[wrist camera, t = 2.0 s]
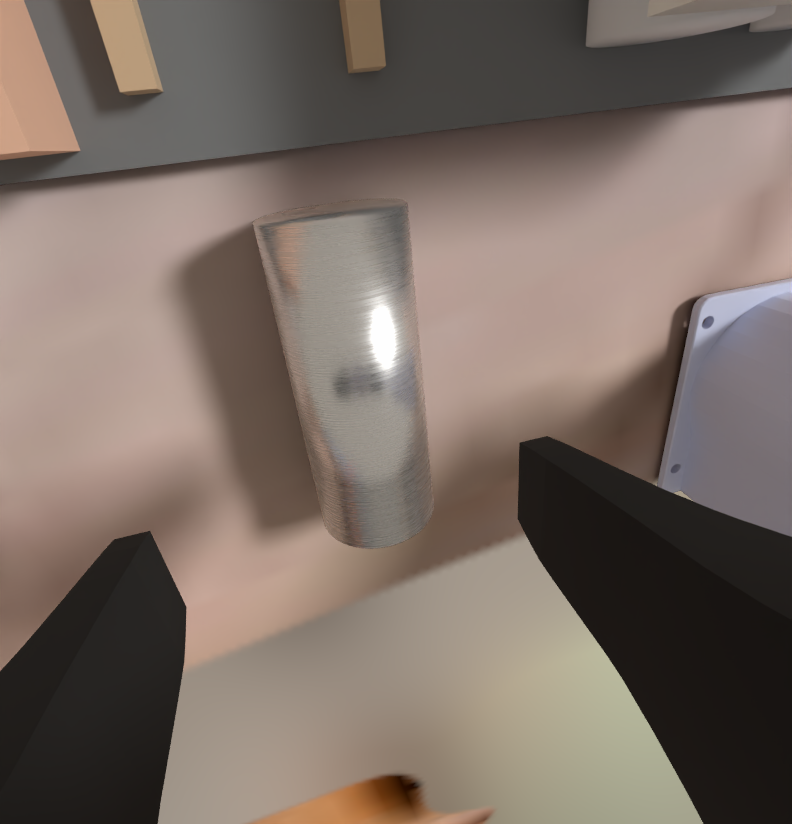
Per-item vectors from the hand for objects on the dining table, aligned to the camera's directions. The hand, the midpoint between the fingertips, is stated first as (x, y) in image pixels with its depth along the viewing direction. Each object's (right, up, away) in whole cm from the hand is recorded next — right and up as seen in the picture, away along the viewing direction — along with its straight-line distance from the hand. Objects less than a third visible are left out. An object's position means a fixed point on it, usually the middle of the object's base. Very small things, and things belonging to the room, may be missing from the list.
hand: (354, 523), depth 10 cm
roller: (-2, +4, +7) cm, 8 cm away
